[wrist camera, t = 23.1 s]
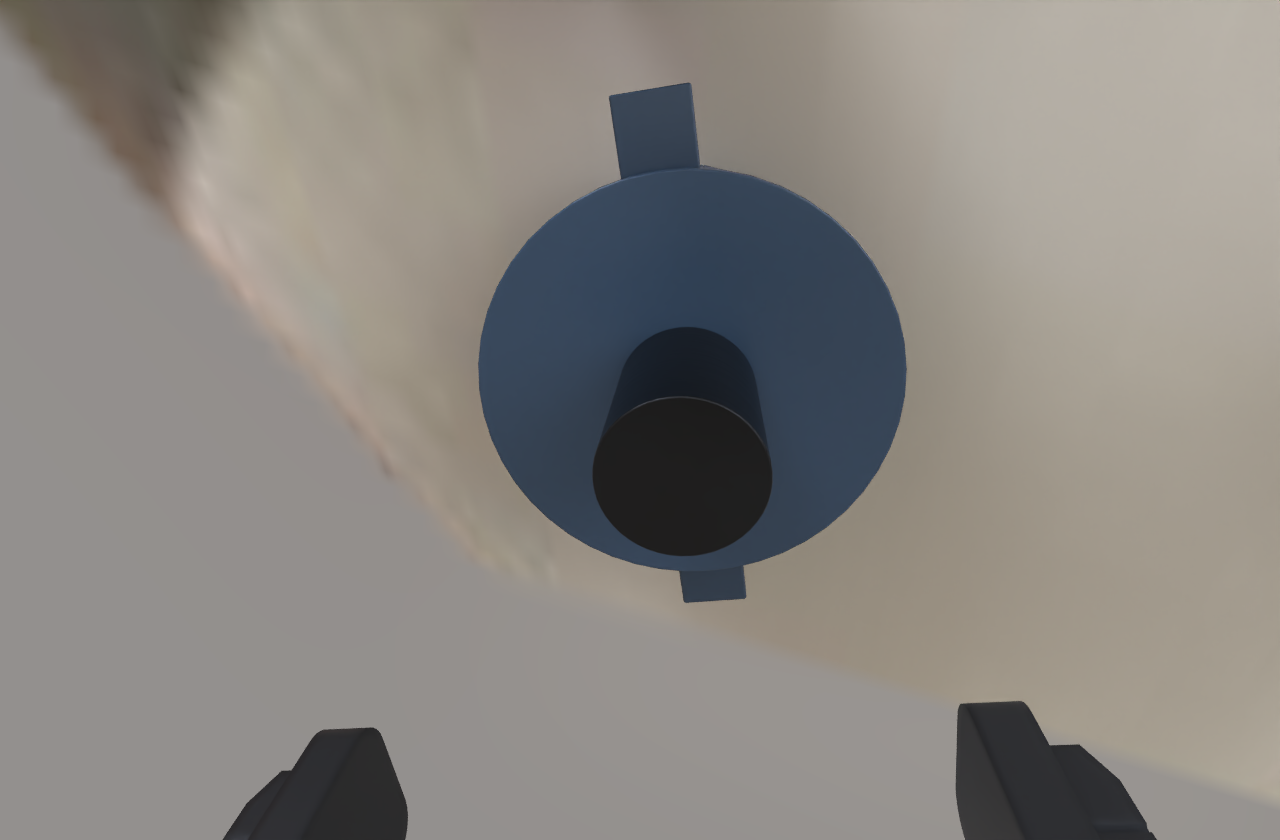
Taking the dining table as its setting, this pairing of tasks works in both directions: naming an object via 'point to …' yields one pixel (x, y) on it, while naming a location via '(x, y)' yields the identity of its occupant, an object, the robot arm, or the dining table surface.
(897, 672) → the dining table surface
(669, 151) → the pot
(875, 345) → the lid
